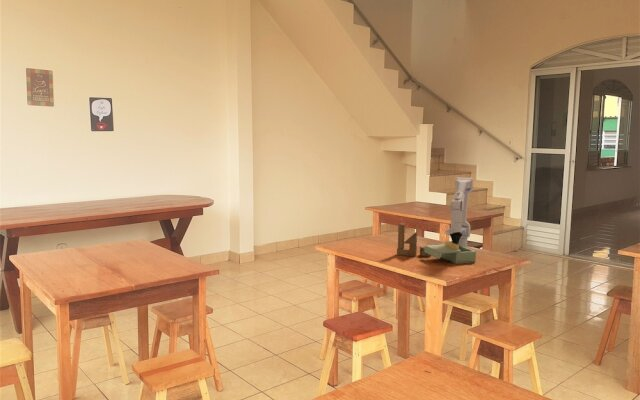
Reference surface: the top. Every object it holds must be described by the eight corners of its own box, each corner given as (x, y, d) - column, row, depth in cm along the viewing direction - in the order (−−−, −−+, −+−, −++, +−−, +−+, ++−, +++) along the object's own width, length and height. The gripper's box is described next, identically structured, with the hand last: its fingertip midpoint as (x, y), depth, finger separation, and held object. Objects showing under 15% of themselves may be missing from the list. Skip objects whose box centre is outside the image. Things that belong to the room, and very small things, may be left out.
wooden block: (415, 256, 301) (416, 225, 298) (396, 255, 305) (397, 224, 302) (416, 255, 304) (417, 224, 302) (398, 253, 308) (398, 223, 306)
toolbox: (440, 256, 301) (441, 246, 300) (459, 255, 304) (459, 245, 304) (456, 263, 286) (456, 252, 285) (475, 262, 289) (475, 251, 288)
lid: (424, 252, 297) (424, 241, 296) (445, 250, 301) (445, 240, 300) (438, 258, 282) (439, 247, 281) (460, 257, 286) (461, 245, 285)
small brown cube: (419, 255, 305) (420, 246, 304) (427, 254, 306) (427, 246, 305) (423, 256, 301) (423, 248, 300) (431, 256, 302) (431, 247, 302)
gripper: (459, 219, 299) (458, 243, 301) (441, 221, 291) (440, 246, 292) (469, 221, 293) (468, 245, 295) (451, 223, 285) (450, 248, 287)
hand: (455, 245), depth 293 cm, fingers closed
